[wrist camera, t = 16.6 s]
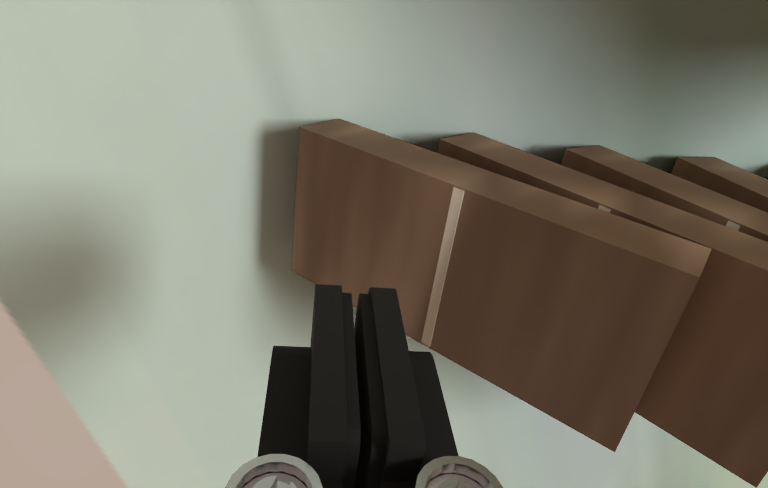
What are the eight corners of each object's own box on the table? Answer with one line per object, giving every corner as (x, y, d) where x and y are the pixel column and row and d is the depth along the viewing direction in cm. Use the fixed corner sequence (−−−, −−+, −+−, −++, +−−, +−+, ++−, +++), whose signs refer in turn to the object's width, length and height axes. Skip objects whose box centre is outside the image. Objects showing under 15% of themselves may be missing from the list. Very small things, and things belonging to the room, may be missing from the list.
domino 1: (339, 118, 17) (712, 248, 12) (327, 253, 19) (633, 411, 14) (298, 126, 16) (699, 277, 10) (290, 270, 18) (614, 452, 13)
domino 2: (474, 132, 18) (885, 285, 11) (446, 260, 20) (773, 448, 14) (439, 138, 16) (877, 315, 10) (413, 274, 19) (756, 488, 12)
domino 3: (599, 145, 18) (1055, 327, 11) (558, 268, 21) (906, 490, 13) (565, 148, 17) (1040, 352, 10) (525, 277, 20) (882, 524, 12)
